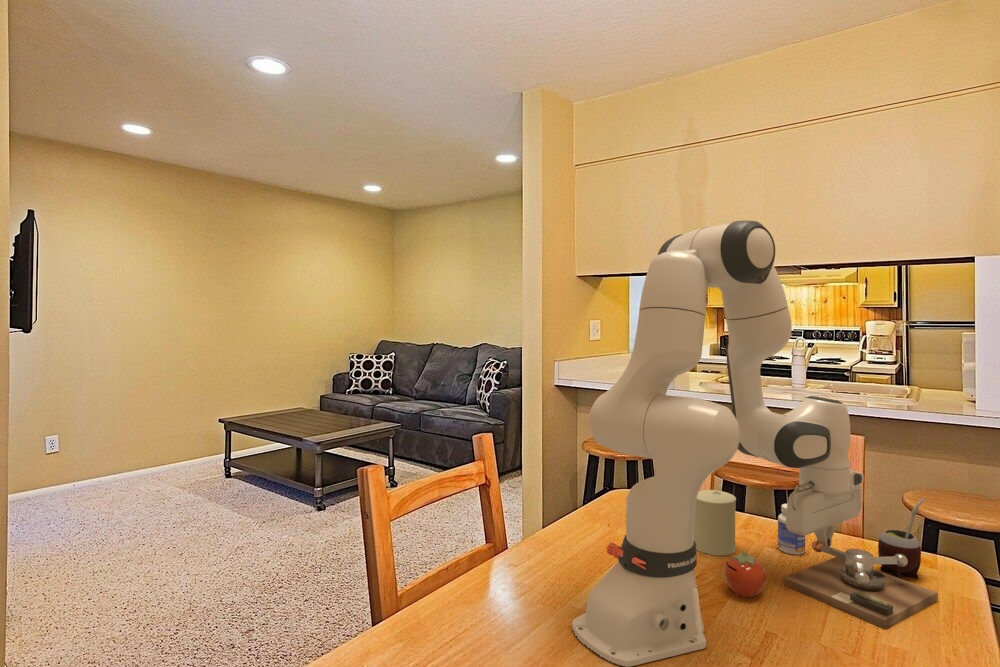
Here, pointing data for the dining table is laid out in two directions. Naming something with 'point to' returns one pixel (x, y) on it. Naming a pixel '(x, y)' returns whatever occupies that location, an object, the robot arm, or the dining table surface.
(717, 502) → the can
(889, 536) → the mate gourd
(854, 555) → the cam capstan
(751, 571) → the tomato
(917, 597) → the stand board
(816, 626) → the dining table surface
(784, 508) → the pill bottle
